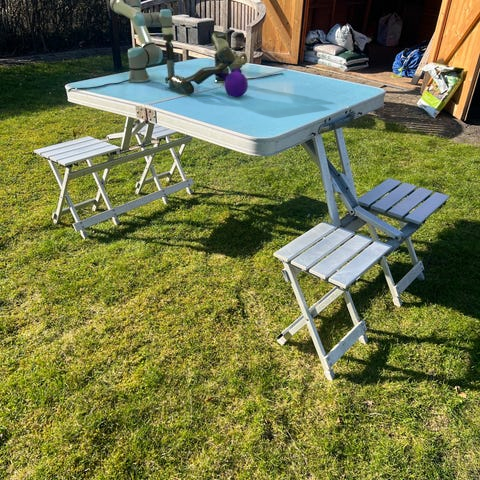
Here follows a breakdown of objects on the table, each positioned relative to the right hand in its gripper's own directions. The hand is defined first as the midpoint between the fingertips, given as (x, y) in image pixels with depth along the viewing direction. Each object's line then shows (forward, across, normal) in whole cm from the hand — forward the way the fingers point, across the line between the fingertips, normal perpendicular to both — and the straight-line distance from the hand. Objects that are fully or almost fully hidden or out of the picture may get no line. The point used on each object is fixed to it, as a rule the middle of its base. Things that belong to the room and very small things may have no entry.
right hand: (170, 78), depth 316 cm
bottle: (-3, 0, -6) cm, 7 cm away
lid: (+13, +6, +8) cm, 16 cm away
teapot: (+33, +67, -6) cm, 75 cm away
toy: (-47, +26, -6) cm, 54 cm away
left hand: (+13, +6, +4) cm, 15 cm away
